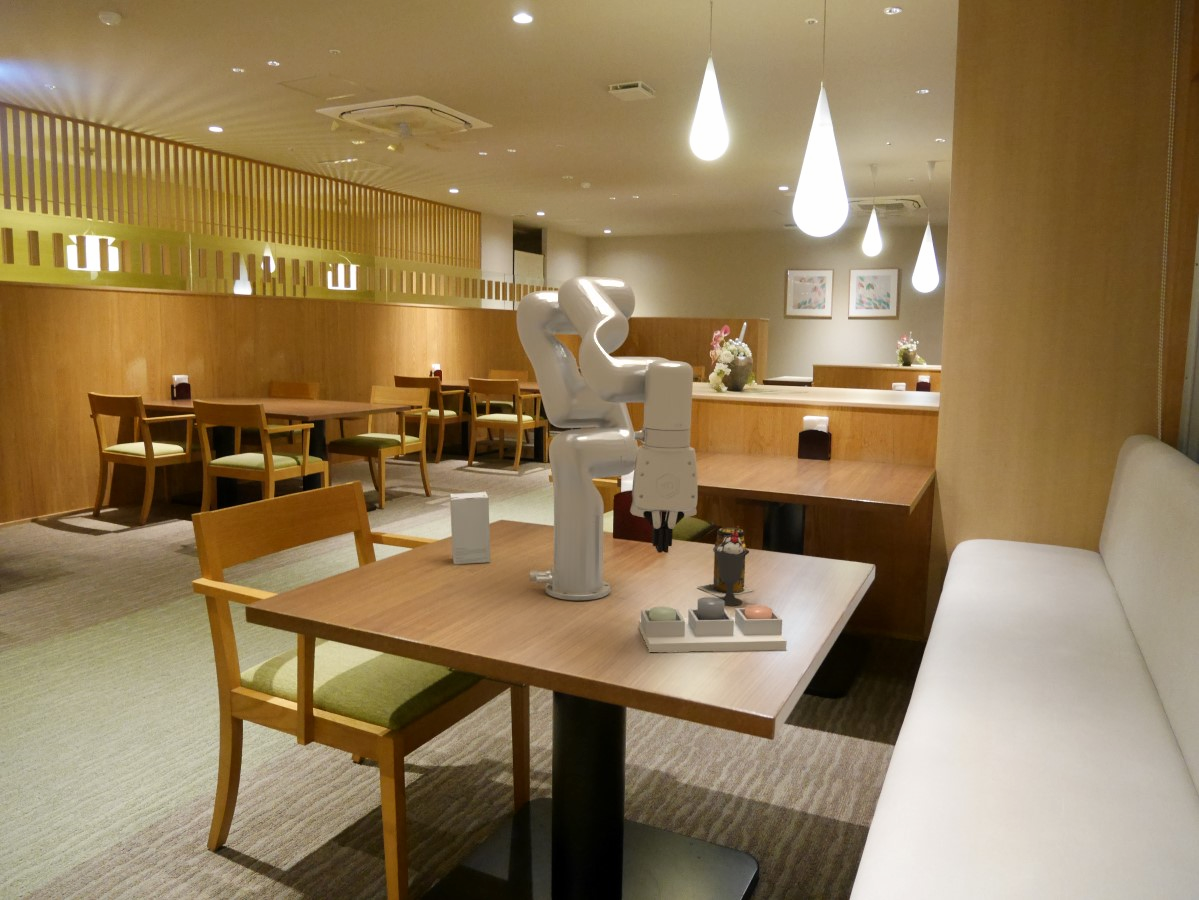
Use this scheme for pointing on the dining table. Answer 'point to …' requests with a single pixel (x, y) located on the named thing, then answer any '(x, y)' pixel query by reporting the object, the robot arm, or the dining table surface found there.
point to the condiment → (718, 585)
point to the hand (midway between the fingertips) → (661, 550)
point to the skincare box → (470, 527)
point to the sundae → (731, 565)
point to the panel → (712, 633)
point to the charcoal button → (710, 608)
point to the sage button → (662, 614)
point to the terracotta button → (758, 612)
